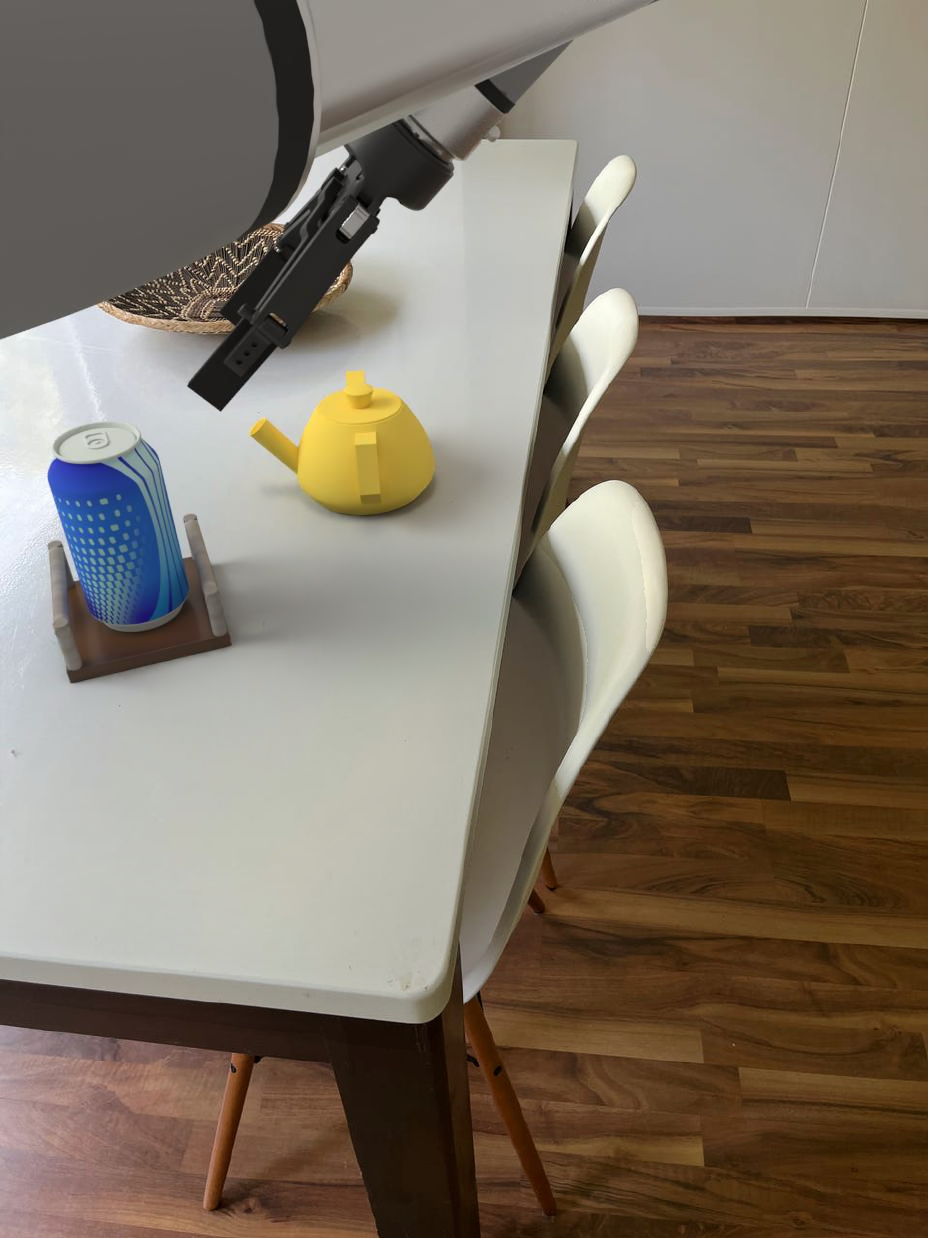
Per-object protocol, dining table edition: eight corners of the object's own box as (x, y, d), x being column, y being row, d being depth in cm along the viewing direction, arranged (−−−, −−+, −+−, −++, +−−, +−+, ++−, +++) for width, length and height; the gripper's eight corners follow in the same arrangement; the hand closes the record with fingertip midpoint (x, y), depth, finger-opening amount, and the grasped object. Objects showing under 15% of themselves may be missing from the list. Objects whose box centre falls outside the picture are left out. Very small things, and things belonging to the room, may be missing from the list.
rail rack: (232, 645, 83) (220, 591, 79) (70, 684, 79) (51, 629, 76) (207, 563, 92) (196, 512, 89) (63, 594, 89) (45, 541, 86)
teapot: (259, 451, 110) (243, 357, 103) (422, 436, 112) (417, 342, 105) (259, 549, 94) (241, 445, 87) (449, 528, 96) (445, 425, 90)
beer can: (208, 586, 87) (172, 421, 78) (162, 644, 81) (116, 472, 71) (124, 574, 89) (78, 411, 79) (72, 630, 83) (15, 460, 73)
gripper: (468, 220, 55) (239, 471, 63) (453, 126, 74) (280, 327, 83) (365, 117, 51) (137, 397, 60) (377, 48, 71) (205, 265, 80)
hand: (220, 357), depth 72 cm, fingers open, 13 cm apart
